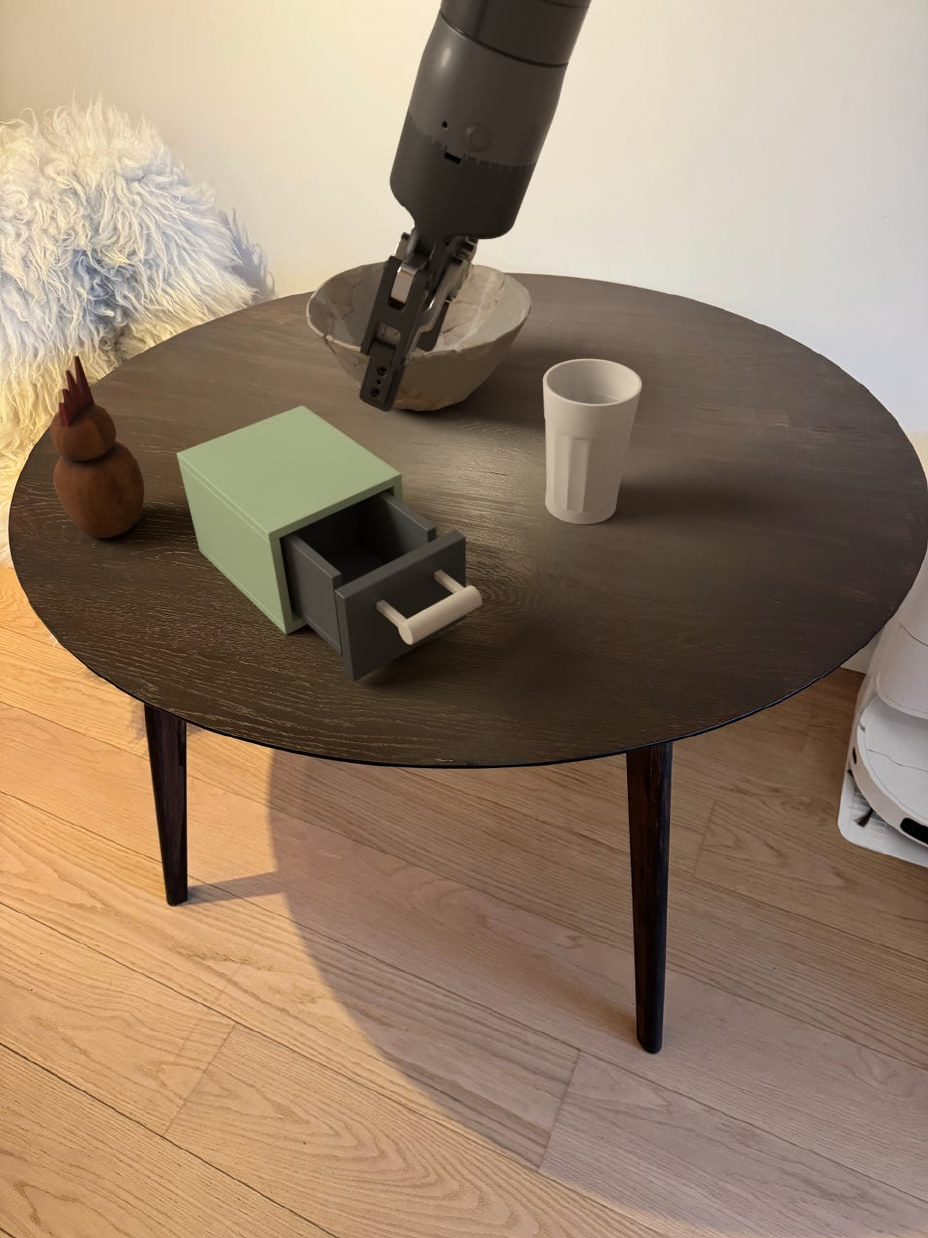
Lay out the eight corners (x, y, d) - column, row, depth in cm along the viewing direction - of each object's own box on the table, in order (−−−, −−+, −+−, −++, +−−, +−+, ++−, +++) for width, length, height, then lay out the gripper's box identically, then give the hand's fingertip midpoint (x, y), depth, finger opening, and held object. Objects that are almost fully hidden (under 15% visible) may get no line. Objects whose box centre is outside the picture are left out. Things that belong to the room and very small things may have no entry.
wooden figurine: (122, 496, 85) (76, 340, 75) (165, 518, 82) (123, 360, 72) (59, 533, 81) (1, 373, 71) (101, 557, 78) (48, 395, 68)
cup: (523, 517, 82) (529, 394, 74) (551, 471, 88) (560, 351, 80) (611, 538, 80) (627, 413, 72) (635, 489, 86) (652, 368, 78)
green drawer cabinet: (407, 572, 77) (401, 473, 70) (286, 635, 71) (268, 533, 65) (315, 500, 84) (302, 404, 78) (199, 551, 79) (175, 452, 73)
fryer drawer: (504, 648, 69) (507, 565, 64) (390, 717, 64) (383, 633, 59) (369, 542, 78) (362, 462, 73) (261, 594, 73) (246, 513, 68)
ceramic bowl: (518, 340, 108) (522, 254, 102) (536, 446, 91) (541, 350, 84) (326, 343, 108) (316, 256, 101) (307, 450, 91) (294, 354, 84)
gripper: (451, 66, 56) (382, 306, 67) (367, 129, 45) (302, 400, 57) (565, 120, 56) (478, 350, 67) (507, 195, 46) (415, 452, 57)
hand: (397, 373), depth 62 cm, fingers open, 8 cm apart
